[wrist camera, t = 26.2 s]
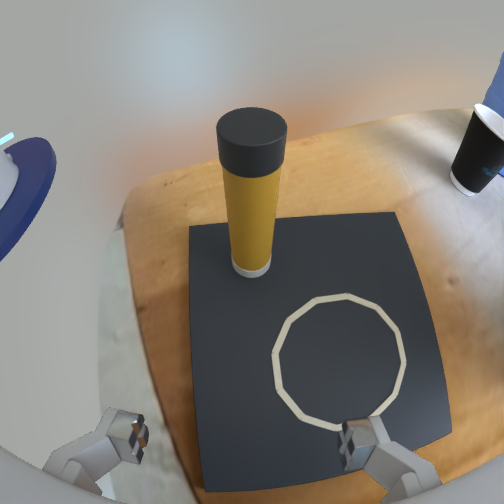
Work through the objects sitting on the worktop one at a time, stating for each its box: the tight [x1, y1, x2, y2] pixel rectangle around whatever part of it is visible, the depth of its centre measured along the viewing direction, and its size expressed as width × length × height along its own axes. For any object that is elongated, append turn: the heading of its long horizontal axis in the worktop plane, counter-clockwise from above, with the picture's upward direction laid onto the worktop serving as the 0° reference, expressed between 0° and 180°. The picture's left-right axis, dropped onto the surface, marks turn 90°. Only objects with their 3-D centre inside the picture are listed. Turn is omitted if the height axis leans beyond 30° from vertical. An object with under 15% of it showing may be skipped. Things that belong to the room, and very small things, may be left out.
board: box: [189, 212, 452, 492], centre depth 20 cm, size 20×22×1 cm
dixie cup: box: [450, 103, 504, 196], centre depth 25 cm, size 8×8×11 cm
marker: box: [216, 107, 287, 278], centre depth 18 cm, size 3×3×13 cm
